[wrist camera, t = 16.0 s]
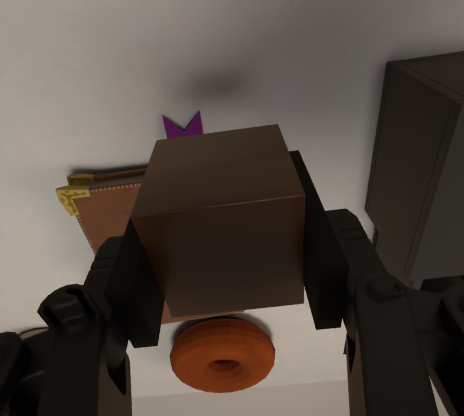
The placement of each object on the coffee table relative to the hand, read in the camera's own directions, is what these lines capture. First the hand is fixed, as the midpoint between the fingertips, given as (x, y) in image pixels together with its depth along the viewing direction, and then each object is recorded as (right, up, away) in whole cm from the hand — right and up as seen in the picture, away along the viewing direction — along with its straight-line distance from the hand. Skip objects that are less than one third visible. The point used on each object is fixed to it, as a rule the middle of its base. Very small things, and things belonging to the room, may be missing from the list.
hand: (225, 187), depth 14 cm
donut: (-1, -20, +34) cm, 39 cm away
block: (0, 0, 0) cm, 0 cm away
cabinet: (+19, +5, +15) cm, 25 cm away
